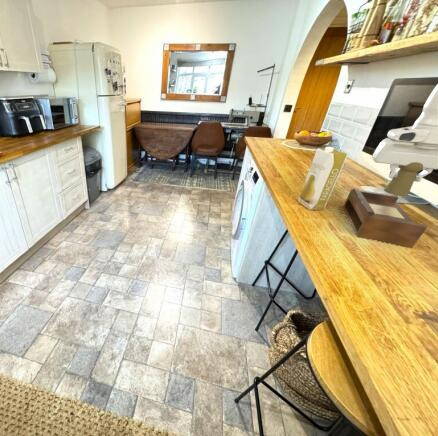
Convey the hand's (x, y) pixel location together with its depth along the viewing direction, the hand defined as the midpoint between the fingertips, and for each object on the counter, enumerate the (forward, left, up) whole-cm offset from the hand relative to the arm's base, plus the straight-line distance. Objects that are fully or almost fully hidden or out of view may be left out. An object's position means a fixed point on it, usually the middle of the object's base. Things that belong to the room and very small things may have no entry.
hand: (403, 179), depth 77 cm
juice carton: (+20, -7, -18) cm, 28 cm away
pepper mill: (0, 0, -5) cm, 5 cm away
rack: (+1, 0, -18) cm, 18 cm away
